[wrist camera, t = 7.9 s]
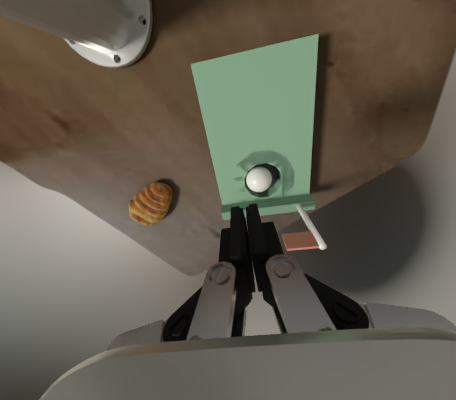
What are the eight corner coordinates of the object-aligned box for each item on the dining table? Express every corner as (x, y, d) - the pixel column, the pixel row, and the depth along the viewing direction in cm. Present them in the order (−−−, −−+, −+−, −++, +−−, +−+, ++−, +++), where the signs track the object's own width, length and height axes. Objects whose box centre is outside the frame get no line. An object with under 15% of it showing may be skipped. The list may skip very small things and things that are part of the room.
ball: (252, 196, 31) (252, 174, 32) (275, 193, 29) (275, 170, 30) (240, 189, 28) (241, 165, 29) (266, 185, 25) (266, 159, 26)
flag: (268, 192, 32) (287, 247, 20) (292, 189, 32) (327, 244, 20) (268, 196, 33) (287, 252, 21) (292, 193, 32) (326, 249, 20)
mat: (194, 67, 24) (185, 60, 19) (310, 40, 22) (328, 25, 17) (224, 205, 34) (223, 220, 30) (304, 194, 32) (314, 209, 28)
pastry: (152, 171, 32) (142, 179, 28) (183, 193, 34) (177, 203, 30) (130, 204, 35) (119, 214, 32) (159, 222, 37) (151, 234, 34)
